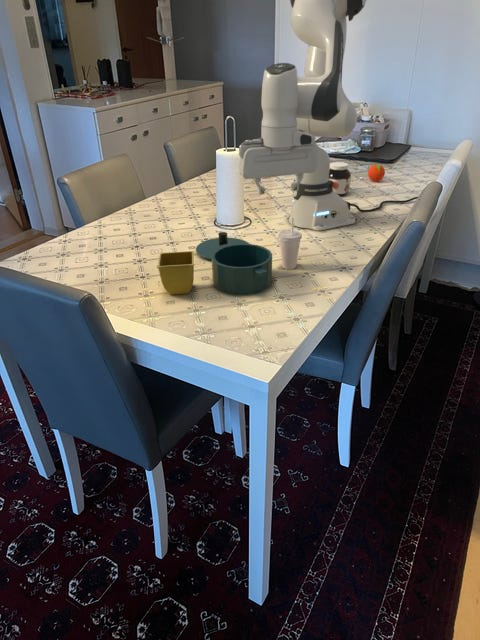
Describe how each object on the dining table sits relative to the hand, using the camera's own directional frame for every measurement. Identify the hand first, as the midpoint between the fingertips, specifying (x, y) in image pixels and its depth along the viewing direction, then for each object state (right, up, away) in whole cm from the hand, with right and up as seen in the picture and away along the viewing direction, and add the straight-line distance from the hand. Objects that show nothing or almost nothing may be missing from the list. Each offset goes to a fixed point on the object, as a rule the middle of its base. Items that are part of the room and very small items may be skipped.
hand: (278, 192), depth 129 cm
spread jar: (+28, +17, +67) cm, 75 cm away
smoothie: (+4, -19, +9) cm, 21 cm away
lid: (-15, -12, +19) cm, 27 cm away
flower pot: (-26, -26, -2) cm, 37 cm away
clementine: (+48, +25, +80) cm, 96 cm away
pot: (-9, -23, +2) cm, 25 cm away
